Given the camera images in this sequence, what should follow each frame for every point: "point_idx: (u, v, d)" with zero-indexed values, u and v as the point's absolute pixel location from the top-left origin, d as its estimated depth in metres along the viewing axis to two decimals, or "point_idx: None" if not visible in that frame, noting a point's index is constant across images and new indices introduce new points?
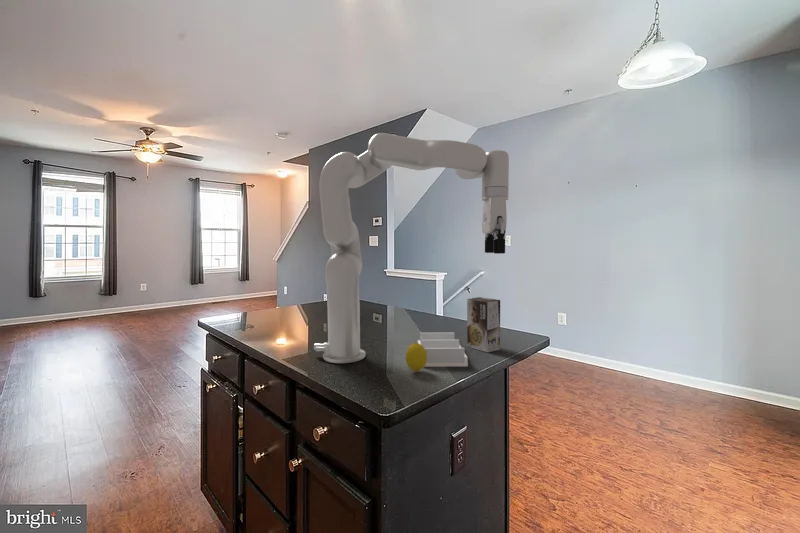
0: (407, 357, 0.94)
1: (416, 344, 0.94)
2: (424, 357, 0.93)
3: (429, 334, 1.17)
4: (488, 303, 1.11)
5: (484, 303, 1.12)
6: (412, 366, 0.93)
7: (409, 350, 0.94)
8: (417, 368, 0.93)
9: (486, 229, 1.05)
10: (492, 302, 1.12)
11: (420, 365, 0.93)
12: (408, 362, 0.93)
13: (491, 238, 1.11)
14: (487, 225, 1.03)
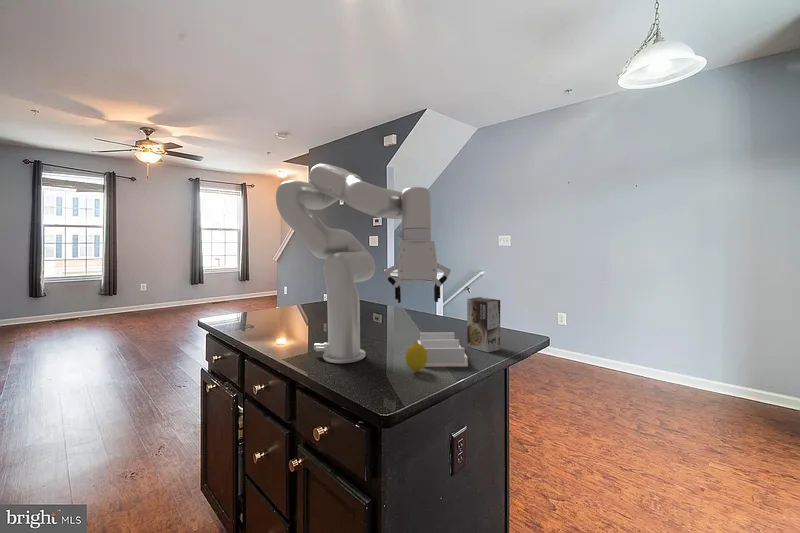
0: (407, 357, 0.94)
1: (416, 344, 0.94)
2: (424, 357, 0.93)
3: (429, 334, 1.17)
4: (488, 303, 1.11)
5: (484, 303, 1.12)
6: (412, 366, 0.93)
7: (409, 350, 0.94)
8: (417, 368, 0.93)
9: (423, 276, 0.91)
10: (492, 302, 1.12)
11: (420, 365, 0.93)
12: (408, 362, 0.93)
13: None
14: (427, 271, 0.91)
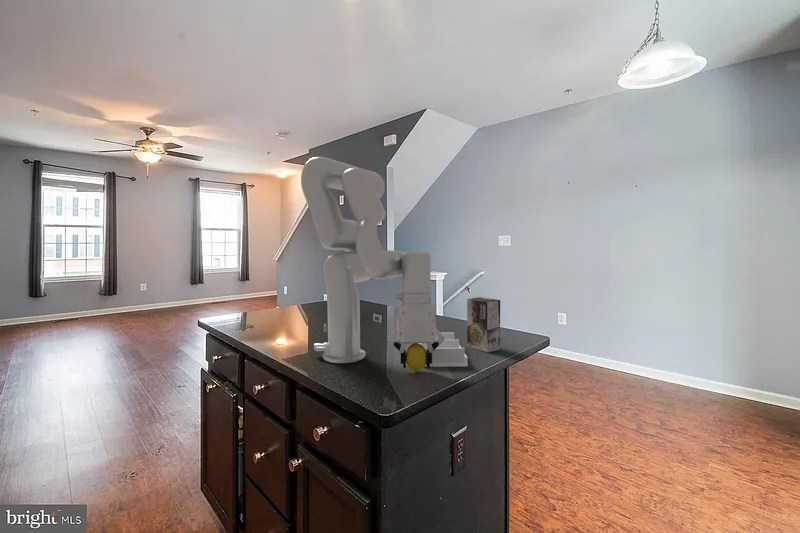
0: (407, 357, 0.94)
1: (416, 344, 0.94)
2: (424, 357, 0.93)
3: None
4: (488, 303, 1.11)
5: (484, 303, 1.12)
6: (412, 366, 0.93)
7: (409, 350, 0.93)
8: (417, 368, 0.93)
9: (422, 339, 0.92)
10: (492, 302, 1.12)
11: (420, 365, 0.93)
12: (408, 362, 0.93)
13: None
14: (426, 335, 0.92)
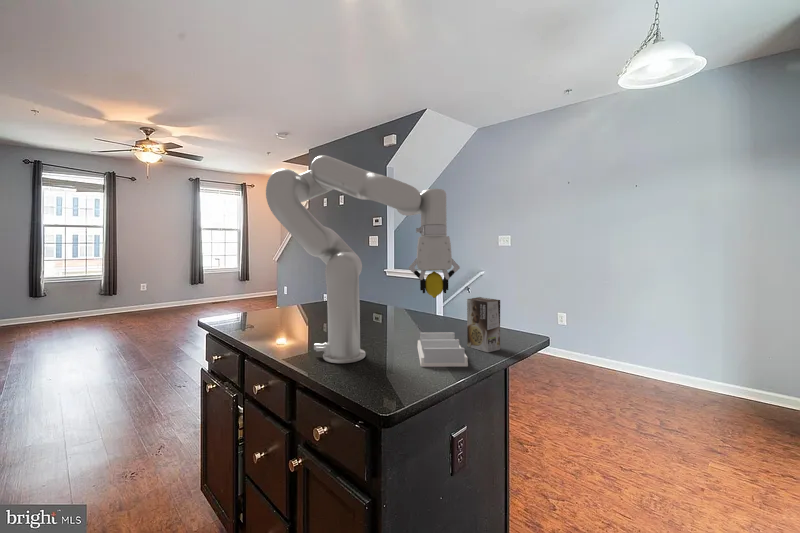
0: (426, 283, 1.05)
1: (434, 272, 1.06)
2: (441, 283, 1.05)
3: (429, 334, 1.17)
4: (488, 303, 1.11)
5: (484, 303, 1.12)
6: (430, 291, 1.05)
7: (428, 277, 1.05)
8: (435, 293, 1.05)
9: (439, 266, 1.04)
10: (492, 302, 1.12)
11: (438, 290, 1.04)
12: (427, 288, 1.05)
13: None
14: (443, 262, 1.04)
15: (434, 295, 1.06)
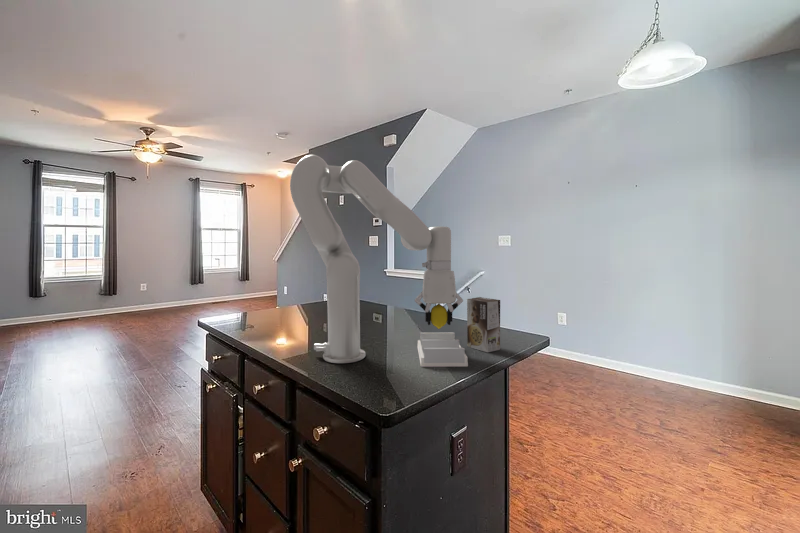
0: (431, 316, 1.11)
1: (439, 305, 1.11)
2: (446, 315, 1.11)
3: (429, 334, 1.17)
4: (488, 303, 1.11)
5: (484, 303, 1.12)
6: (436, 323, 1.10)
7: (433, 310, 1.11)
8: (440, 325, 1.10)
9: (444, 300, 1.09)
10: (492, 302, 1.12)
11: (442, 322, 1.10)
12: (432, 320, 1.11)
13: (429, 310, 1.13)
14: (447, 296, 1.09)
15: (439, 327, 1.11)
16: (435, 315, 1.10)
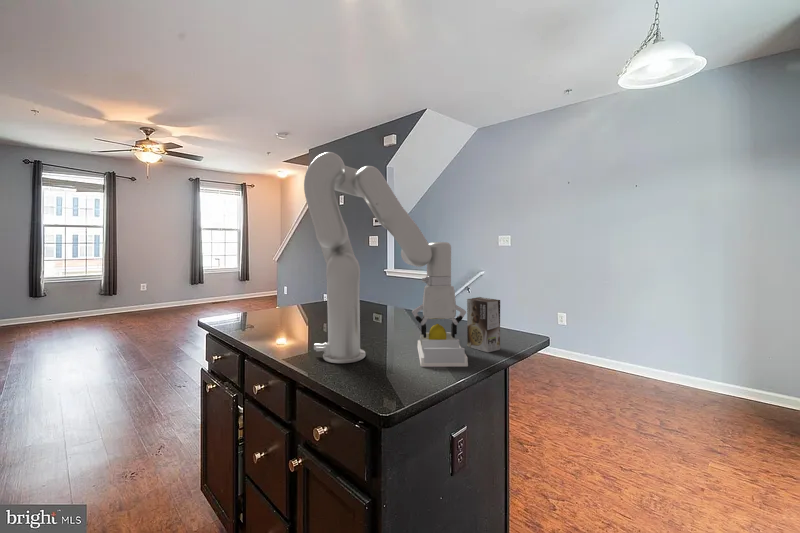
0: (430, 336, 1.11)
1: (437, 325, 1.12)
2: (444, 336, 1.11)
3: None
4: (488, 303, 1.11)
5: (484, 303, 1.12)
6: None
7: (432, 330, 1.11)
8: None
9: (444, 315, 1.10)
10: (492, 302, 1.12)
11: None
12: None
13: None
14: (447, 312, 1.10)
15: None
16: (434, 335, 1.10)
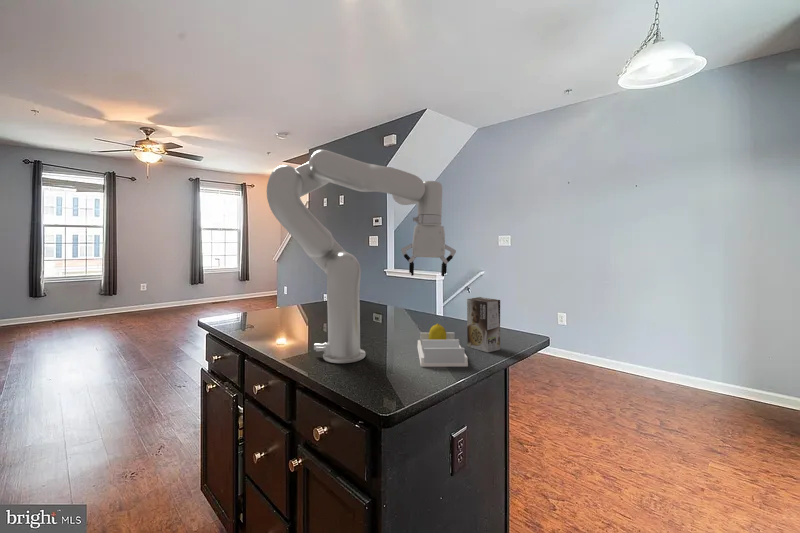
0: (430, 336, 1.11)
1: (437, 325, 1.12)
2: (444, 336, 1.11)
3: None
4: (488, 303, 1.11)
5: (484, 303, 1.12)
6: None
7: (432, 330, 1.11)
8: None
9: (433, 254, 1.11)
10: (492, 302, 1.12)
11: None
12: None
13: None
14: (436, 250, 1.11)
15: None
16: (434, 335, 1.10)
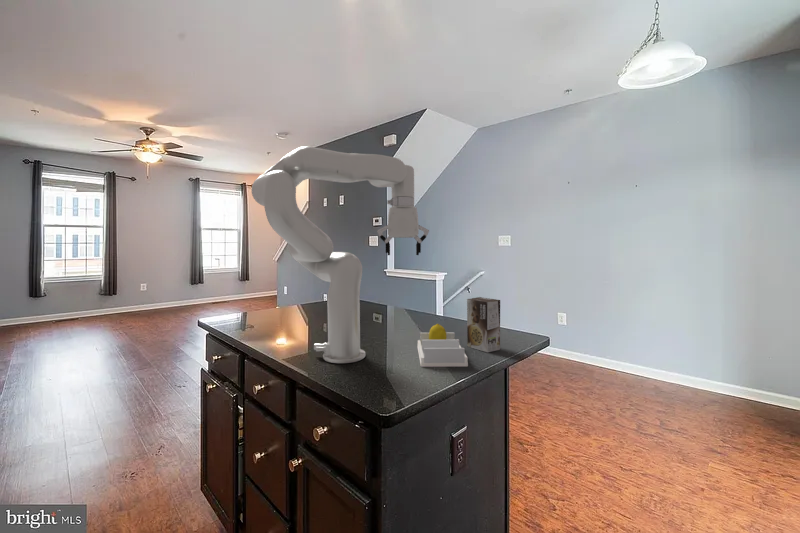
0: (430, 336, 1.11)
1: (438, 325, 1.12)
2: (444, 336, 1.11)
3: None
4: (488, 303, 1.11)
5: (484, 303, 1.12)
6: None
7: (432, 330, 1.11)
8: None
9: (407, 234, 1.17)
10: (492, 302, 1.12)
11: None
12: None
13: None
14: (410, 230, 1.17)
15: None
16: (434, 335, 1.10)
